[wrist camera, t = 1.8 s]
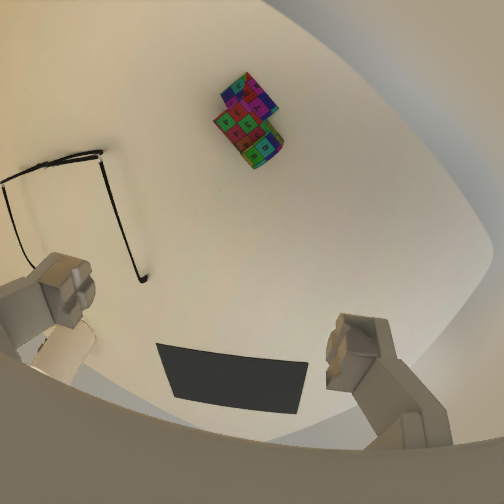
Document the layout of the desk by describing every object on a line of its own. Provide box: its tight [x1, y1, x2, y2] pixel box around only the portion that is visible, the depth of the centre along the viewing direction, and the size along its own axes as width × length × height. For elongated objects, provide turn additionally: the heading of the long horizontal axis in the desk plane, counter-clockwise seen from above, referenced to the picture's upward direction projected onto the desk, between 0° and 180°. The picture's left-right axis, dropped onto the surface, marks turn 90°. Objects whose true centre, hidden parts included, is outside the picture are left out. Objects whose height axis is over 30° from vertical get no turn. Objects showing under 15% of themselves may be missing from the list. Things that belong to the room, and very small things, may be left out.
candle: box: [30, 320, 96, 385], centre depth 35 cm, size 6×6×15 cm
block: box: [213, 72, 284, 169], centre depth 21 cm, size 6×4×3 cm
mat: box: [156, 343, 308, 414], centre depth 42 cm, size 20×14×1 cm
